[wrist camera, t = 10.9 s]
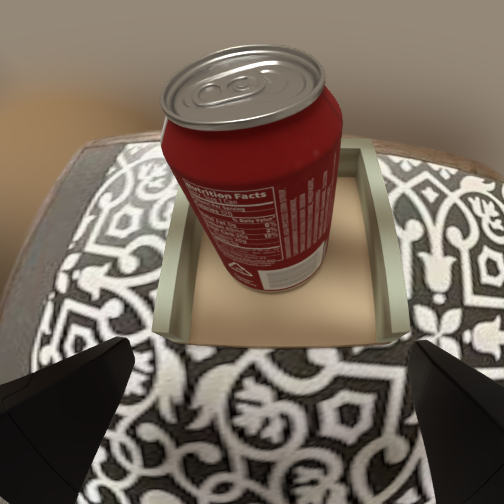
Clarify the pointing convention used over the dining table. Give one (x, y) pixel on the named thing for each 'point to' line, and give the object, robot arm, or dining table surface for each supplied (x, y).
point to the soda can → (257, 158)
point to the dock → (303, 296)
